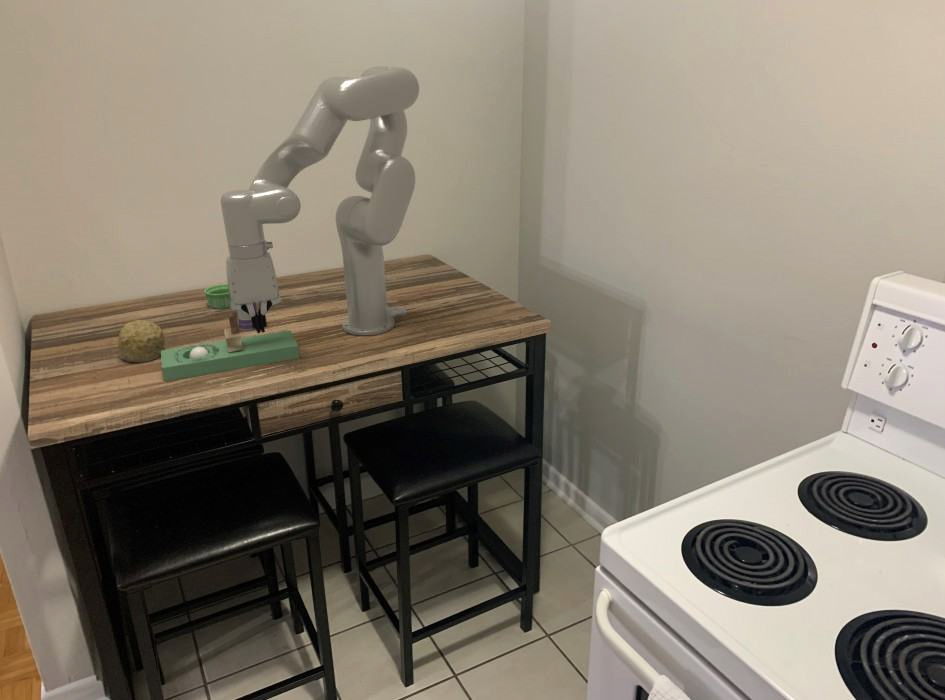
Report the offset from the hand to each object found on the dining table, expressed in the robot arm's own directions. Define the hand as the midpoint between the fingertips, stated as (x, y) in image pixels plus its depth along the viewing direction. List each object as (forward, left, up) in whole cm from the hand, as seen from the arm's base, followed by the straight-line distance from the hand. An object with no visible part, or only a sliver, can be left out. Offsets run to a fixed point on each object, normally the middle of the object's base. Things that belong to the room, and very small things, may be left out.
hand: (260, 330), depth 161 cm
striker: (+6, 0, -3) cm, 7 cm away
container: (+1, -19, -6) cm, 20 cm away
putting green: (+7, 0, -6) cm, 9 cm away
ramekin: (+5, -40, -6) cm, 41 cm away
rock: (+25, -12, -6) cm, 28 cm away
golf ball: (+13, 0, -4) cm, 14 cm away
